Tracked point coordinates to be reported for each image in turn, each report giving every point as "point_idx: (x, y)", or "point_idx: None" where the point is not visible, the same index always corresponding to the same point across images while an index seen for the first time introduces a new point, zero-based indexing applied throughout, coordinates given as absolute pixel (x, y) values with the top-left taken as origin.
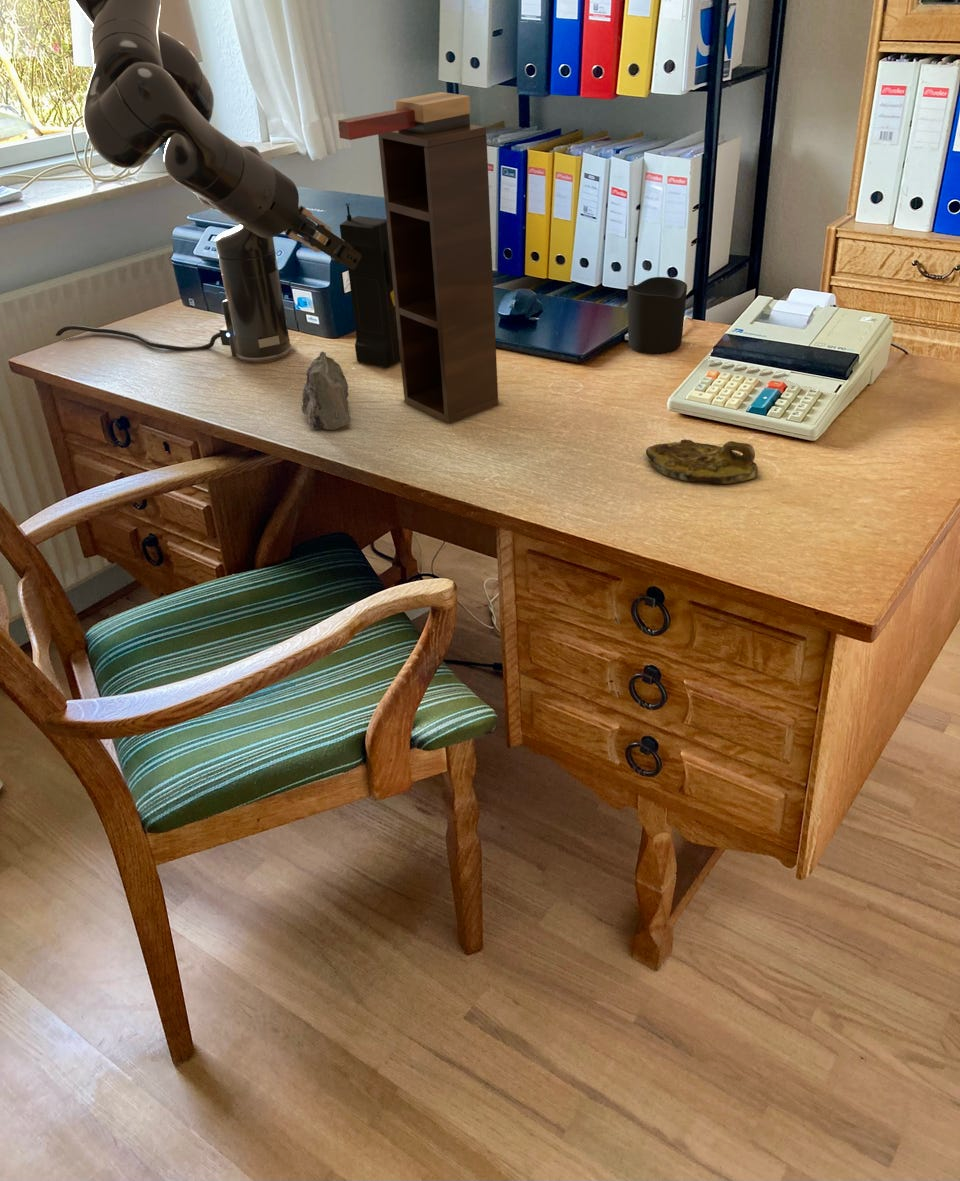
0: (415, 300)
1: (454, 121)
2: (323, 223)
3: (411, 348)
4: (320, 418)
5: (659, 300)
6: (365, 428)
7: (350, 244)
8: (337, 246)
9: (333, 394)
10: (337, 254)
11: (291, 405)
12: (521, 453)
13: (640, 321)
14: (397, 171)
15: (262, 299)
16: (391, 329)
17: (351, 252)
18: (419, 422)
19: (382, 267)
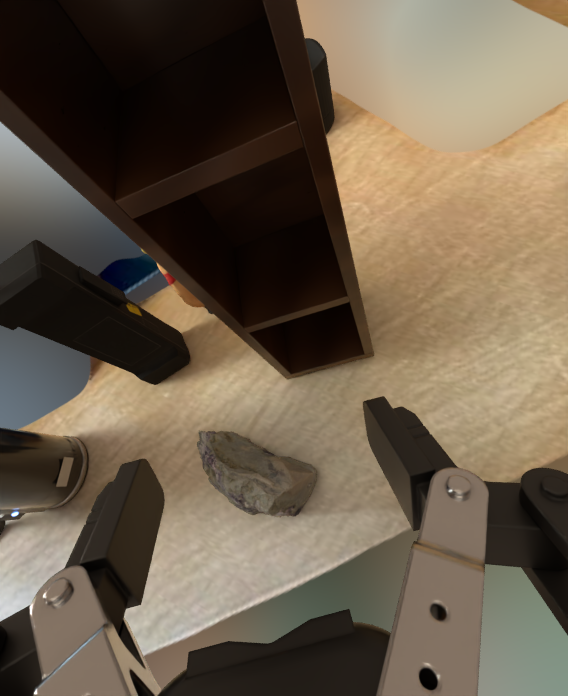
0: (238, 297)
1: None
2: (480, 632)
3: (268, 341)
4: (299, 507)
5: (321, 68)
6: (327, 450)
7: (566, 482)
8: (505, 539)
9: (299, 485)
10: (561, 566)
11: (208, 507)
12: (502, 310)
13: None
14: (49, 101)
15: (7, 468)
16: (162, 334)
17: (439, 448)
18: (348, 384)
19: (100, 300)
